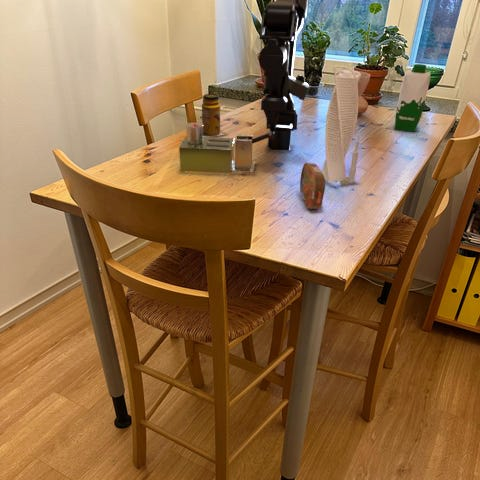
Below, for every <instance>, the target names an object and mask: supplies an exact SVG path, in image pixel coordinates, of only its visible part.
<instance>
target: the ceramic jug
mask: <svg viewBox="0 0 480 480" xmlns="http://www.w3.org/2000/svg"><path fill="white" fill-rule="evenodd" d="M339 72H340V71H338V72H336V74H337V75H339ZM359 72H360V73H361V77H360V79H359V81H358V116H360V115H362V114H364V113H366V112H367V110H368V108H369V103H368V101H367V100H366V99H365V98H364V97H363V96H362V95H363V94H364V92H365V91H366V88H367V86H368V84H369V82H370V79H371V73H368V72H365V71H359ZM341 73H343V72H341ZM355 74H356V75H359V74H357V73H355Z"/></svg>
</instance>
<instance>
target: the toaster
mask: <svg viewBox="0 0 480 480" xmlns="http://www.w3.org/2000/svg"><path fill="white" fill-rule="evenodd" d="M209 139H215V140H230V142H224V141H208V140H209ZM235 139H236V137H235V138H234V137H216V136H214V137H203V143H201V144H189V143H187V135H185V136H184V138H183V140H178V141H179V142H181V143H180V145H179V147H178V149H179V168H180V172H192V173H210V174H211V173H212V174H213V173H214V174H231V175H232V173H233V172H232V167H233V163H234V161H235ZM207 144H214V145H229V147H222V146H206V145H207Z"/></svg>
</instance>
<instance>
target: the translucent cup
mask: <svg viewBox="0 0 480 480" xmlns="http://www.w3.org/2000/svg"><path fill="white" fill-rule="evenodd" d="M185 130H186V131H185V133H186V136H187V143H189V144H201V143H203V125H202V122H188V123H187V124H185Z"/></svg>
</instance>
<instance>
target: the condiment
mask: <svg viewBox="0 0 480 480" xmlns="http://www.w3.org/2000/svg"><path fill="white" fill-rule="evenodd" d="M201 124H202V125H203V137H220V136H226V134H225V133H223V132H221V104H220V96H219V95H218V94H217V93H205V94H203V95H202V104H201Z"/></svg>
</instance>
